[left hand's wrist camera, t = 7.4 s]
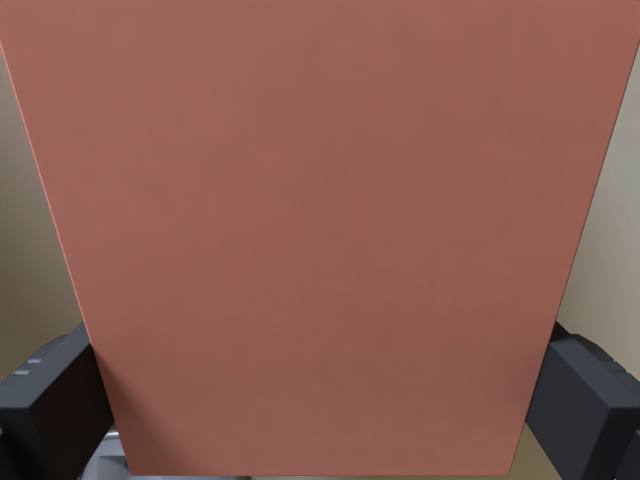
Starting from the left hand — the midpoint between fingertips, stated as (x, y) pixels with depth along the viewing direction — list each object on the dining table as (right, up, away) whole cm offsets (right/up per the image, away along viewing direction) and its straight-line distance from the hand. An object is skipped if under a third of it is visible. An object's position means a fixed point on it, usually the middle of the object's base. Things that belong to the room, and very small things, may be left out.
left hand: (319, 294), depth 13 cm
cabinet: (0, +7, +4) cm, 8 cm away
